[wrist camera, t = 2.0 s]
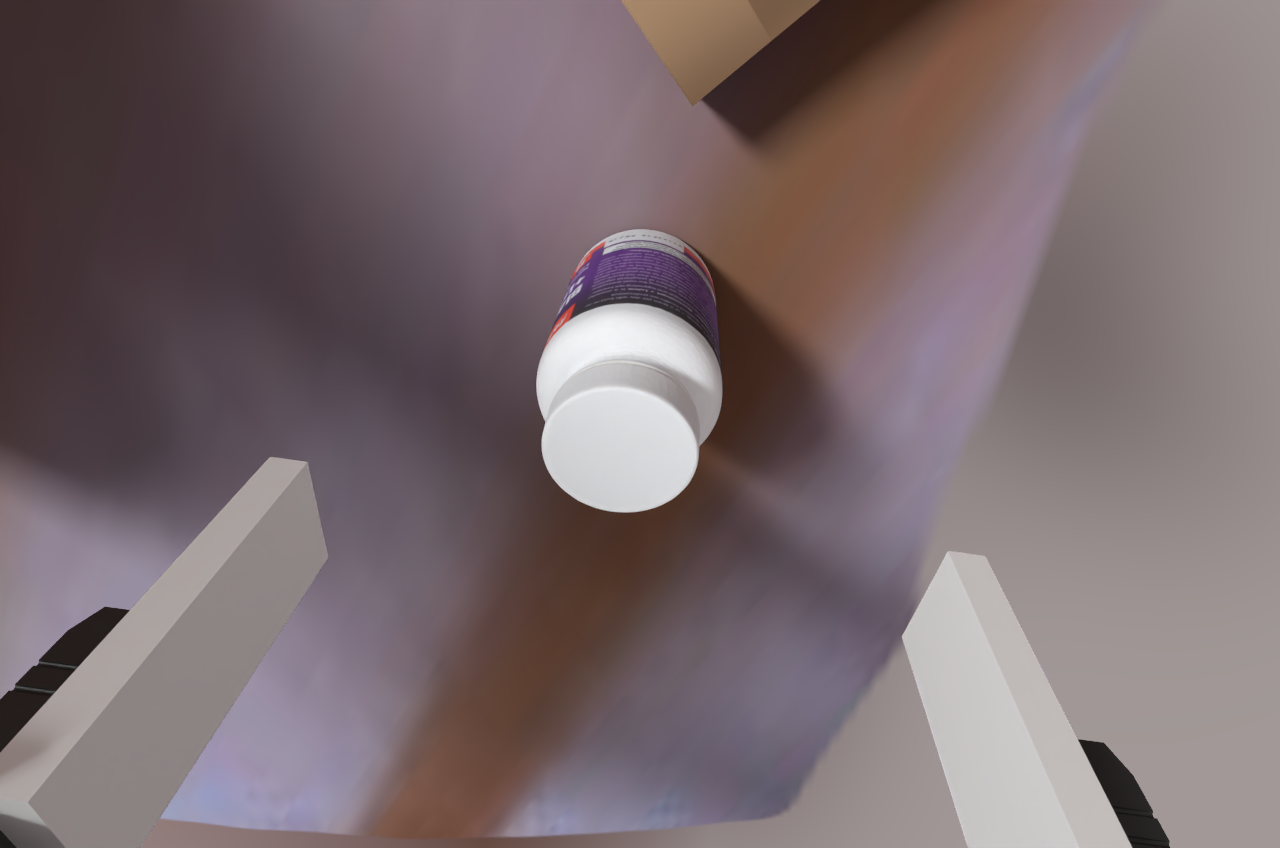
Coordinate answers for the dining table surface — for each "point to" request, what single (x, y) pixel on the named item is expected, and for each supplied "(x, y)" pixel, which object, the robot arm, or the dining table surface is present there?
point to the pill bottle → (631, 373)
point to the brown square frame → (711, 35)
